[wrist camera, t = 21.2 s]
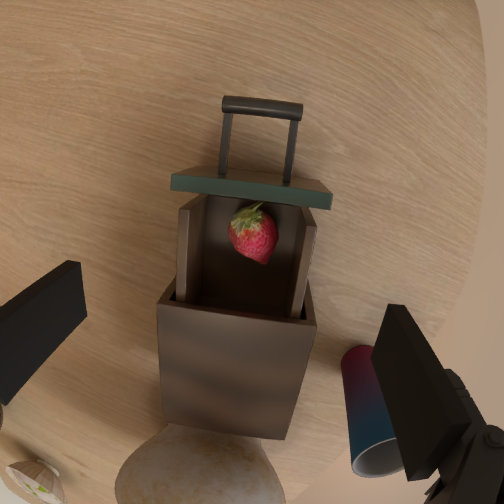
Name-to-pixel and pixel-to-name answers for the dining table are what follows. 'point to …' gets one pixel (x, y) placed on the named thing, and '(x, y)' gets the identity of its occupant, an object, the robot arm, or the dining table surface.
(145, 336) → the dining table surface
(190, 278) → the drawer
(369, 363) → the cup
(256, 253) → the fruit
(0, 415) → the planter
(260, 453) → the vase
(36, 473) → the bowl
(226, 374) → the cabinet
